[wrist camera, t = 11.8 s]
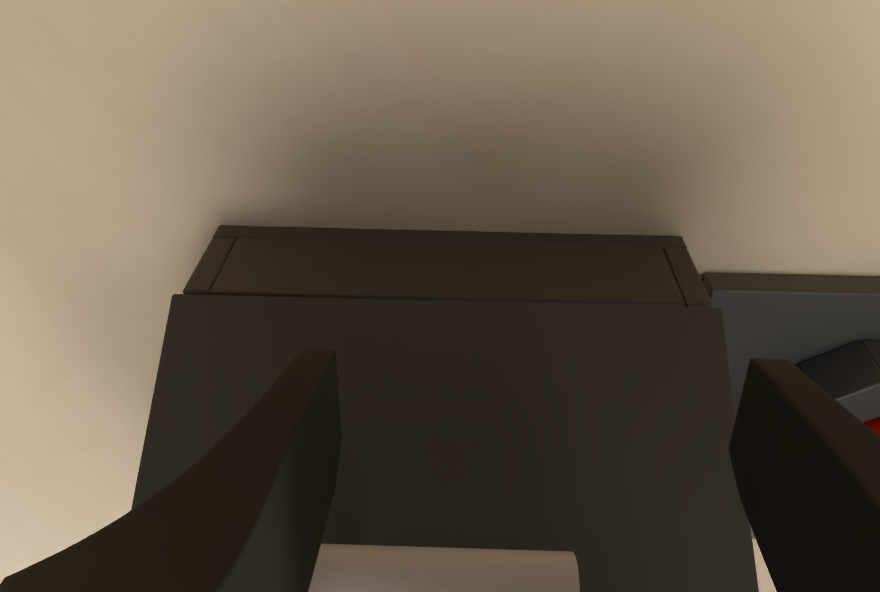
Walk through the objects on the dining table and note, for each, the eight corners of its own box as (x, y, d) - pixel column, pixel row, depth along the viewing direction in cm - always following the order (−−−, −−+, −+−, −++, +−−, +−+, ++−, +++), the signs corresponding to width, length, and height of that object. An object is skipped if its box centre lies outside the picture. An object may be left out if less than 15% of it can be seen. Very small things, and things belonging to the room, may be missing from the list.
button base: (908, 523, 30) (949, 592, 27) (654, 515, 30) (671, 584, 28) (1011, 279, 25) (1073, 337, 22) (703, 272, 25) (730, 328, 22)
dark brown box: (627, 539, 31) (645, 625, 28) (260, 527, 31) (237, 613, 28) (682, 236, 24) (713, 304, 21) (218, 225, 25) (181, 290, 21)
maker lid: (793, 971, 15) (903, 1053, 12) (63, 941, 16) (-55, 1011, 12) (713, 320, 21) (770, 237, 17) (180, 307, 21) (125, 222, 18)
